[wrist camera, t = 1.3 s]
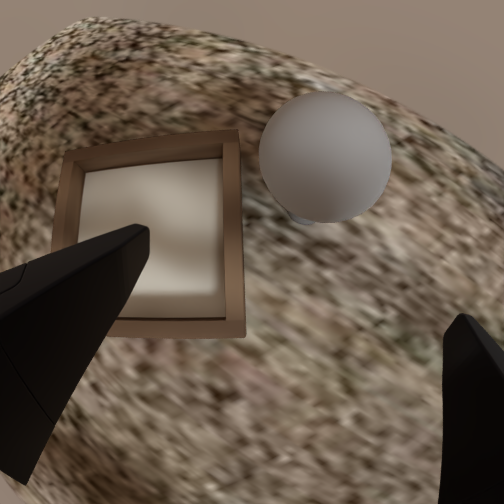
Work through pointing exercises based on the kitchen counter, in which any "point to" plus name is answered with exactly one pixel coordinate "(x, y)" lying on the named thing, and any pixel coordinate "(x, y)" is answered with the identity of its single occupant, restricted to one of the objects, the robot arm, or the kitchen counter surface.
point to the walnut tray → (165, 228)
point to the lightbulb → (324, 157)
